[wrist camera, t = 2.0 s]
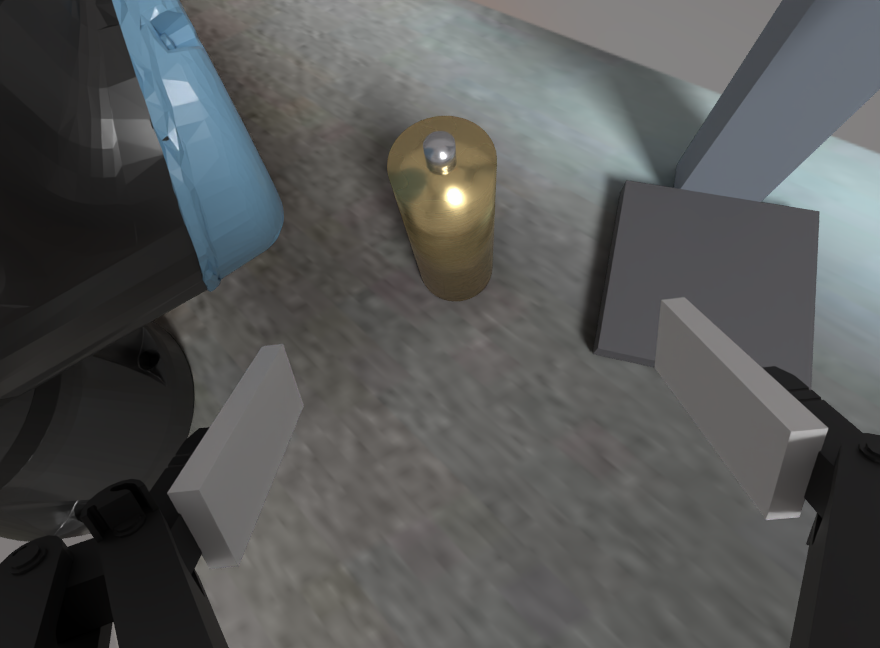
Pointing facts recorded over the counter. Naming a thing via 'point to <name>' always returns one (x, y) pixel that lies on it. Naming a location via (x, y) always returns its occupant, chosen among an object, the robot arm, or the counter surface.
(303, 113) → the counter surface
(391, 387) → the counter surface
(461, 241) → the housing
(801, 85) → the press
